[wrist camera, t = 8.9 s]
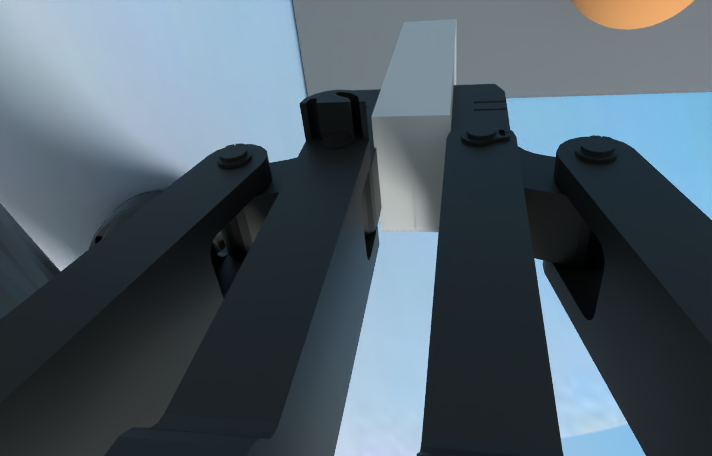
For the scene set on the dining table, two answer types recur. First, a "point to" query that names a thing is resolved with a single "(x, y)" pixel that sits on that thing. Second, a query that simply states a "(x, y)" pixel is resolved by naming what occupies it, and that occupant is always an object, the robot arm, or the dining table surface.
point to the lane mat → (509, 46)
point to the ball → (630, 11)
